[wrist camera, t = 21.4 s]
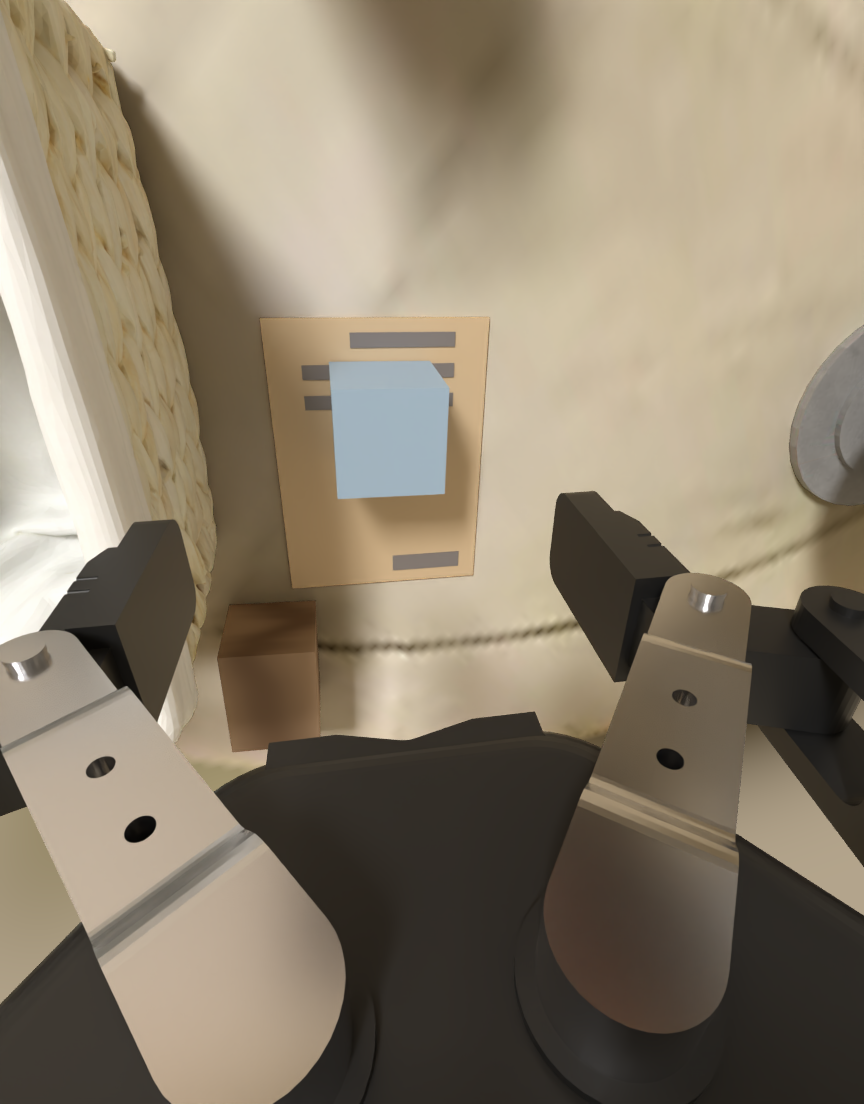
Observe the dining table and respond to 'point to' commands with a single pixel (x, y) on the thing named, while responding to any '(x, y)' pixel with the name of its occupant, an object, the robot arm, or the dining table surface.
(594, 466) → the dining table surface
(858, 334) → the mate gourd
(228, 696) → the walnut block
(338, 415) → the slate cube
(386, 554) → the letter
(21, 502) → the storage basket
